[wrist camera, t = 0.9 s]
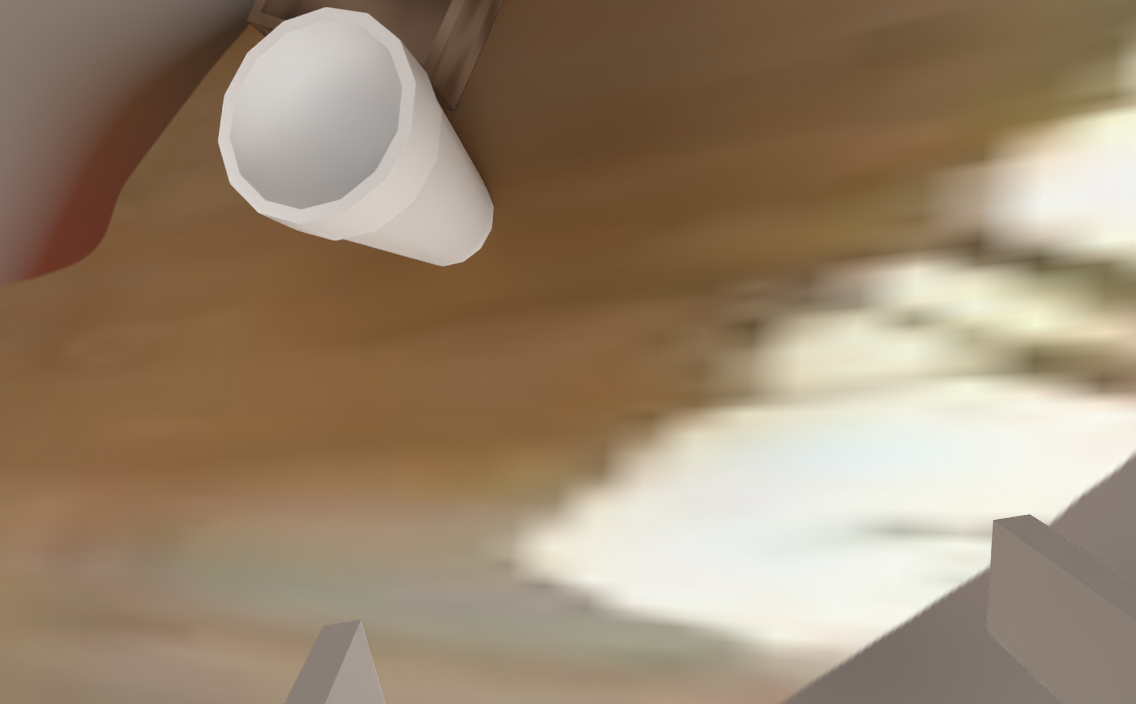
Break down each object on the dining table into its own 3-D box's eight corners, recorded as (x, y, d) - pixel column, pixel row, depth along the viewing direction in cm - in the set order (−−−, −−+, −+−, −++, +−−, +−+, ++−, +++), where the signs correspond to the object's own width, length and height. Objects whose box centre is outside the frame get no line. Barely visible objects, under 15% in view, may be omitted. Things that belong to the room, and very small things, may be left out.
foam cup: (355, 227, 38) (182, 134, 25) (445, 120, 37) (314, -32, 24) (449, 319, 35) (312, 267, 23) (547, 207, 35) (460, 89, 22)
